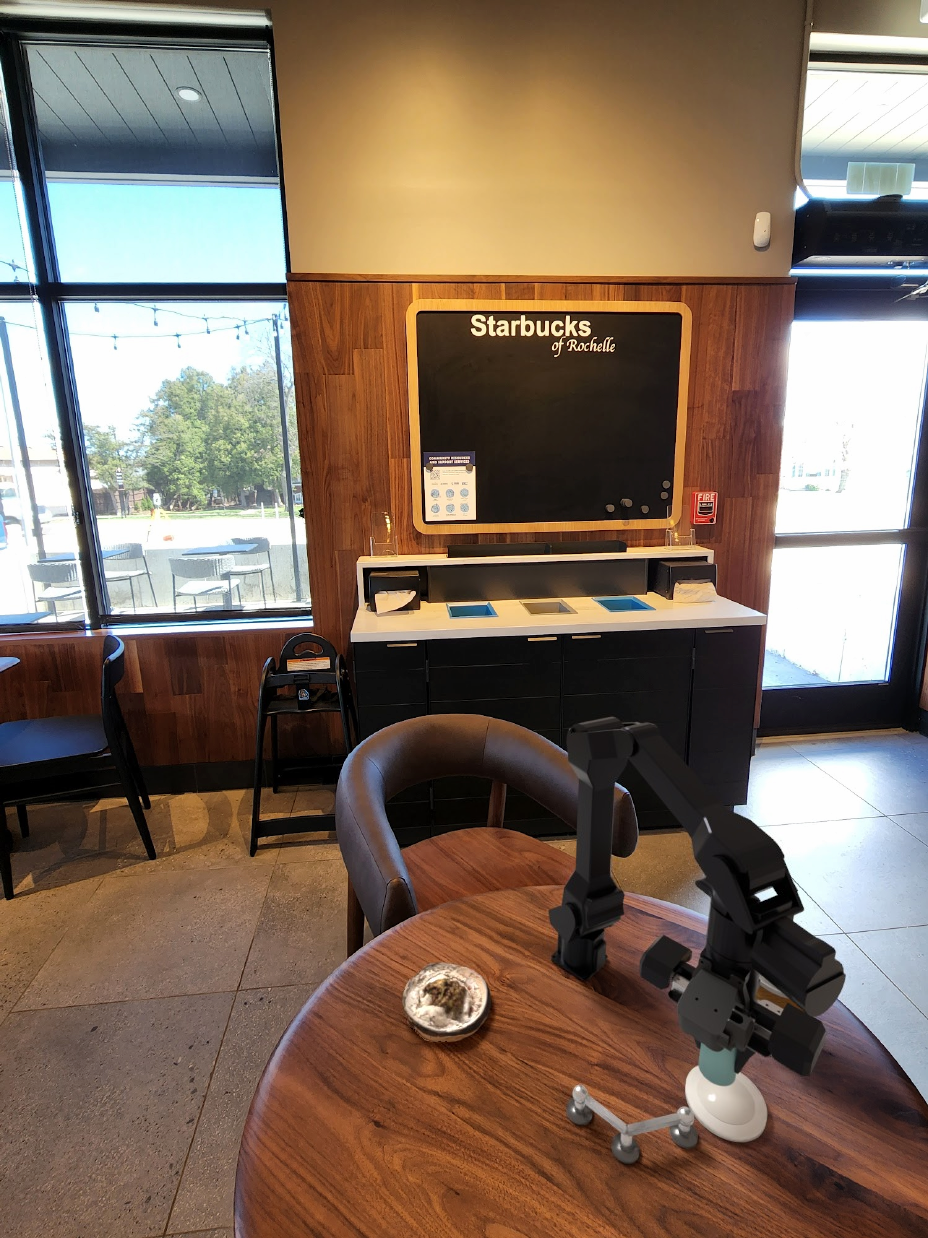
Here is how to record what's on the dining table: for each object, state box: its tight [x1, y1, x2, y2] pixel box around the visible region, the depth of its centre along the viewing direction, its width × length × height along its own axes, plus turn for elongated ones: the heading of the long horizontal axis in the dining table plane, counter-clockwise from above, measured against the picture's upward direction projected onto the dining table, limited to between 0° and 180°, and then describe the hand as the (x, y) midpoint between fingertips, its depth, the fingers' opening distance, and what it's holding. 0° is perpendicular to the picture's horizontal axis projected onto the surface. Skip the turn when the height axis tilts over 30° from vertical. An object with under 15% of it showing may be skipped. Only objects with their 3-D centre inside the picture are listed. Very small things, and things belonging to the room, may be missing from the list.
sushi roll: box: [401, 962, 492, 1043], centre depth 88 cm, size 15×15×4 cm
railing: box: [566, 1084, 698, 1165], centre depth 72 cm, size 13×9×4 cm
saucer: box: [684, 1064, 768, 1143], centre depth 75 cm, size 9×9×1 cm
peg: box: [698, 1043, 739, 1086], centre depth 71 cm, size 4×4×7 cm
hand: (718, 1058), depth 72 cm, fingers closed on peg, 4 cm apart
